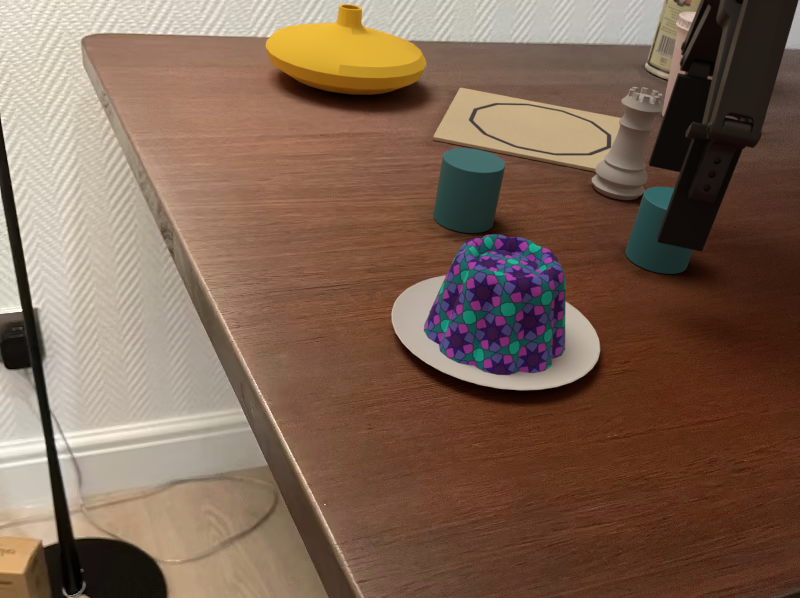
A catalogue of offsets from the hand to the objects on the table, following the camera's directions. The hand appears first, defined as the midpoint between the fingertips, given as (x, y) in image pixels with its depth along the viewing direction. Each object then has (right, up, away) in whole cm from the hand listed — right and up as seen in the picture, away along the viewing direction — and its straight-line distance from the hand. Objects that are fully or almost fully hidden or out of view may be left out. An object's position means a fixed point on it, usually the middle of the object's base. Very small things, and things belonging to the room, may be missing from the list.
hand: (672, 203), depth 55 cm
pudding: (-13, -10, -8) cm, 18 cm away
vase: (-24, +18, +26) cm, 40 cm away
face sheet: (-5, +12, +22) cm, 25 cm away
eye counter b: (0, -3, +3) cm, 4 cm away
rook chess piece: (-1, +4, +12) cm, 13 cm away
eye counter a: (-14, 0, +4) cm, 14 cm away
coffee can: (+17, +27, +46) cm, 56 cm away
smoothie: (+11, +16, +31) cm, 37 cm away
